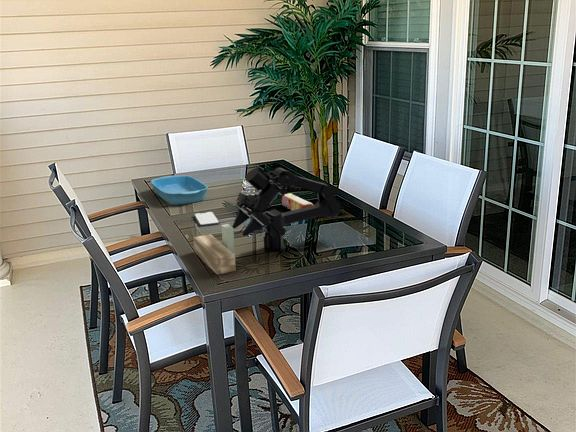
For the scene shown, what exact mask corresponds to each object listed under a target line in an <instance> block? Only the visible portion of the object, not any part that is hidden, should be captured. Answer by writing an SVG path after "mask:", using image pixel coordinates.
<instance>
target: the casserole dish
mask: <svg viewBox="0 0 576 432" xmlns="http://www.w3.org/2000/svg"><path fill="white" fill-rule="evenodd" d="M150 183H151V186H152V188H153V190H154V192H155V193H156V195H157V196H159V198H161V199H162V200H164V201H165V202H166V203H167V204H170V205H173V206H179V205H187V204H192V203H197V202H202V201H203V200H204V199H205V198H206V194H207V192H208V191H207V190H208V185H206V184H205V183H203V182H202V181H200V180H199V179H197V178H195V177H193V176H191V175H168V176H167V175H166V176H160V177H158V178H154V179H152V180H151V181H150Z"/></svg>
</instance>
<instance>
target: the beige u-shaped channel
mask: <svg viewBox="0 0 576 432" xmlns="http://www.w3.org/2000/svg"><path fill="white" fill-rule="evenodd" d="M192 239H193V251H194V254H196V255H197V256H198V257H199V258H200V259H201V260H202V261H203V262H204V263H205V264H206V266H208V267H209V268H210V269H211V270H212V271H213V272H214V273H215V274H216V275H221V274H226V273H230V272H231V273H232V272H236V267H237V266H236V254H233V253H232V252H231V251H230V250H229V249H228V248H226V247H225V246H224V245H223V242H221V241H220V240H218V239H217V238H216V237H214V236H213V234H211V233H209V234H203V235H198V236H193V237H192Z"/></svg>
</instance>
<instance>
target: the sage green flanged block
mask: <svg viewBox="0 0 576 432" xmlns="http://www.w3.org/2000/svg"><path fill="white" fill-rule="evenodd" d="M232 226H233V225H232ZM232 226H231V225H230V223H226V224H221V237H222V242H221V243H222V244H223V245H224V246H225V247H226V248H228V249H229V250H230V251H231V252H232V253H233V254H235V239H234V238H235V234H234V228H233V227H232ZM235 255H236V254H235Z"/></svg>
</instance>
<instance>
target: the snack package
mask: <svg viewBox="0 0 576 432" xmlns="http://www.w3.org/2000/svg"><path fill="white" fill-rule="evenodd" d="M281 205H282V206H283V207H284V206H285V207H284V208H286V207H287V208H286V209H288V210H289V209H290V210H289V211H293V210H297V209H301V208H305V207H309V206H313V205H314V204H313V203H312V202H310V201H307V200H306V199H303V198H301V197H299V196H297V195H294V194H293V193H284V196H282V195H281Z"/></svg>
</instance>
